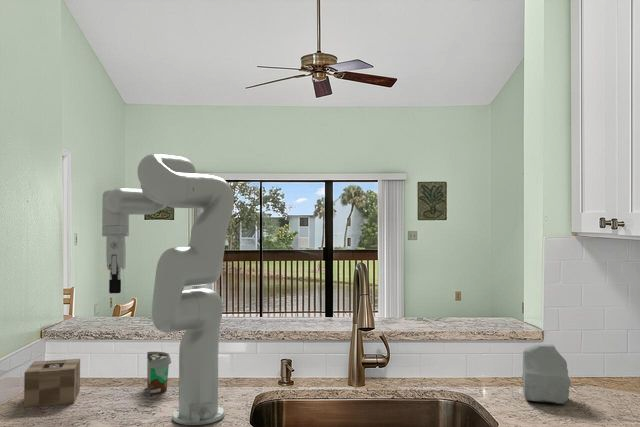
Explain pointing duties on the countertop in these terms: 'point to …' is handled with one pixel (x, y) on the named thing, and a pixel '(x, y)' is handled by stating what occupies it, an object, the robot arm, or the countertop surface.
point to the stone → (545, 374)
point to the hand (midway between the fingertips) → (115, 292)
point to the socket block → (51, 383)
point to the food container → (157, 372)
